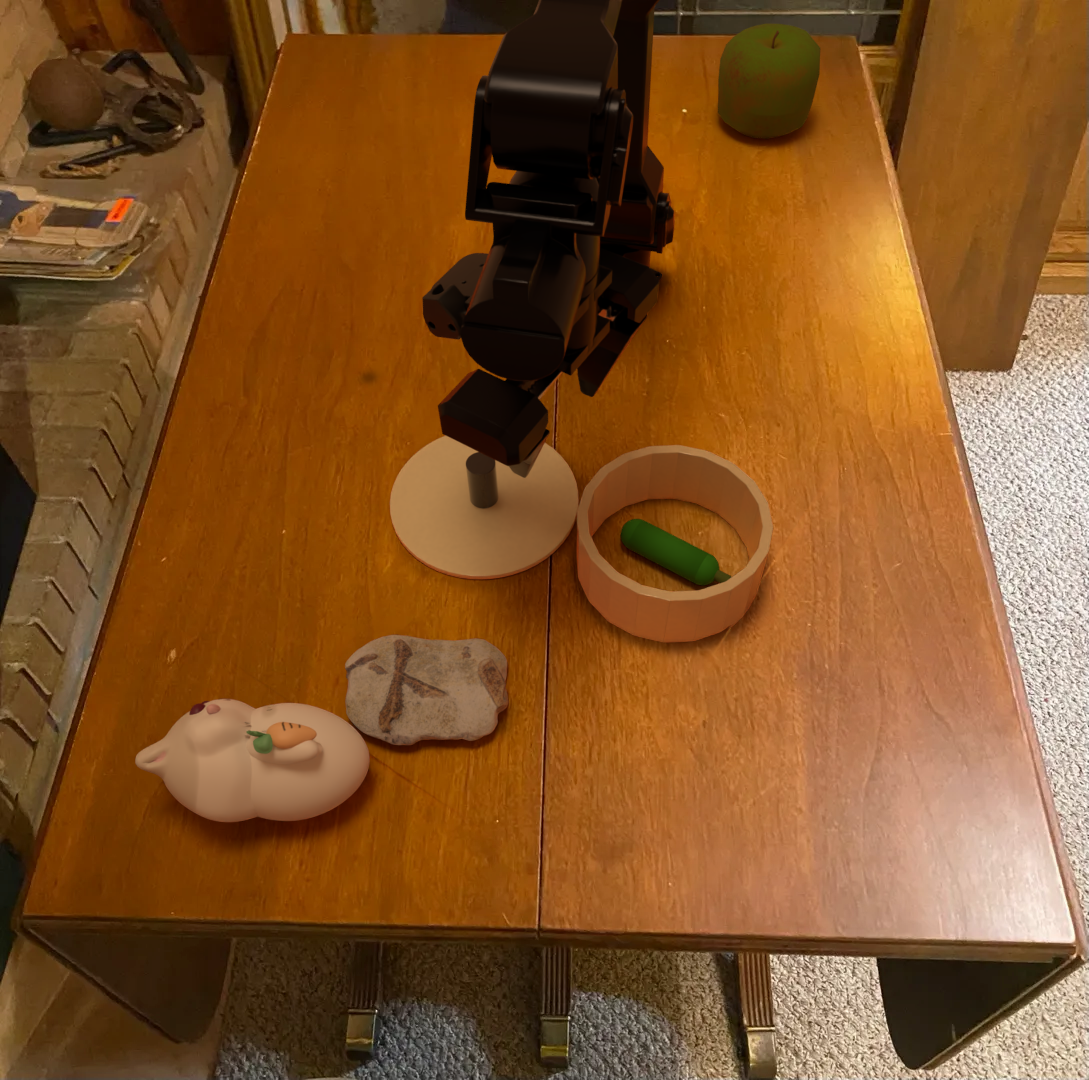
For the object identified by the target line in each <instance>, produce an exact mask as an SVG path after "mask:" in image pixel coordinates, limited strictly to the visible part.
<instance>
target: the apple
mask: <svg viewBox="0 0 1089 1080" xmlns="http://www.w3.org/2000/svg"><path fill="white" fill-rule="evenodd" d="M820 68H821V47H820V45H819V44H818V43H817V42H816V41H815V39H814V38H813V37H812V35H810V33H809V32H808V31H807V30H806V29H803V28H800V27H798V26H795V25H791V24H784V23H761V24H756V25H752V26H750V27H748V28H744V29H742V30H741V31H739V32H738V33H737V34H735V35H734V36H732V37H731V39H730V40H729V41H728V42H727V43H726V44H725V45H724V48H723V51H722V54H721V56H720V58H719V68H718V78H717V79H718V80H717V81H718V82H717V84H718V85H717V87H718V89H717V91H718V92H717V114H718V115H719V117H720V118H721V119H722V121H723V122H724V123H725V124H727V125H728V126H730V127H731V128H732V129H734V130H735V131H737V132H738V133H740V134H742V135H743V136H747V137H749V138H753V139H760V140H761V139H763V140H769V139H774V138H779V137H781V136H785V135H789V134H791V133H792V132H794V131H795V132H796V130H798V129H801V128H803V126H804V124H805V123H806V121H807V120H808V118H809V114H810V111H811V108H812V104H813V101H814V98H815V94H816V90H817V87H818V82H819V78H820V74H821V73H820V70H821V69H820Z"/></svg>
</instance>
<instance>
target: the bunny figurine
mask: <svg viewBox="0 0 1089 1080" xmlns="http://www.w3.org/2000/svg"><path fill="white" fill-rule="evenodd" d="M370 760H371V758H370V750H369V748H368V745H367V743H366V741H365V740H364V738H363V736H362V735H361V734H360V732H359V731H358V730H357V729H356V727H355V726H352V725H351V724H350V723H349V722H348V721H346V720H345V719H344V718H342V717H340V716H339V715H337V714H335V713H333V712H331V711H329V710H327V709H323V708H320V707H318V706H314V705H310V704H306V703H298V702H297V703H296V702H279V703H274V704H269V705H264V706H260V707H257V708H255V707H253V706H251V705H250V704H247V703H245V702H243V701H241V700H238V699H233V698H217V699H213V700H204V701H202V702H200V703H199V702H198V703H196V704H193V706H191V708H190V710H189V711H188V712H186V713H185V714H184V715H182V716H181V717H180V718H178V719H177V721H176V722H174V724H173V725H172V727H170V729H169V730H168V732H167V733H166V735H165V736H164V737H163V738H162V739H160V740H158V741H157V742H155V743H153V744H150V745H148V746H146V747H145V748H143V749H142V750H140V751H139V752H138V753H137V754H136V756H135V761H134V763H135V765H136V767H137V768H139V769H140V770H142V771H145V772H148V773H151V774H154V775H156V776H158V777H159V778H160V779H161V780H163V783H164V785H165V786H166V789H167V790H168V792H169V793H170V794H171V795H172V797H173V798H174V799H176V801H177V802H178V803H180V804H181V805H182V806H183V807H185V808H186V809H188V810H189V811H190V812H192V813H194V814H196V815H198V816H200V817H202V818H205V819H207V820H209V821H214V822H221V823H239V822H242V821H243V822H244V821H248V820H251V819H254V818H261V819H266V820H270V821H280V822H294V821H302V820H303V821H304V820H308V819H311V818H314V817H318V816H320V815H323V814H325V813H327V812H329V811H332V810H334V809H335V808H337V807H338V806H340V805H342V804H343V803H344V802H346V801H347V800H348V799H349V798H350V797H351V796H352V795H353V794H354V793H355V792H356V791H358V789H360V787H361V785H362V784H363V782H364V780H365V779H366V777H367V774H368V771H369V768H370Z"/></svg>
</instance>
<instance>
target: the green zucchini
mask: <svg viewBox="0 0 1089 1080" xmlns="http://www.w3.org/2000/svg"><path fill="white" fill-rule="evenodd" d="M620 541H621V542H622V544H623V546H624V547H625V548H627V549H628V550H630V551H632V552H634V553H636V554H637V555H640V556H642V557H643V558H645V559H647V560H649V561H651V562H653V563H655V564H657V565H659V566H660V567H662V568H664V569H666V570H667V571H668V570H669V571H670V572H672V573H674V574H676V575H678V576H679V577H682V578H684V579H686V580H687V581H689V582H691V583H693V584H695V585H698V586H708V585H710V584H713V583H714V582H716V583H718V584H720V583H723V582H726V581H727V580H729V579H730V578H731V577H732V575H730V574H728V573H726V572H724V571H723V570H720V564H719V561H718V559H717V558H716V557H715V556H714V555H713V554H711V553H709V552H707V551H705V550H703V549H702V548H699V547H697V546H695V545H693V544H691V543H690V542H687V541H685V540H684V539H682V538H679V537H678V536H675V535H674V534H673V533H670V532H668V531H666V530H664V529H662V528H660V527H658V526H657V525H654V524H652V523H650V522H648V521H646V520H644V519H641V518H631V519H630V520H628V521H626V522H625V523H624V524H623V526H622V527H621V530H620Z"/></svg>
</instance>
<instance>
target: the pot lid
mask: <svg viewBox="0 0 1089 1080" xmlns="http://www.w3.org/2000/svg"><path fill="white" fill-rule="evenodd" d="M389 498H390V499H389V514H390V519H391V523H392V528H393V529H394V532H395V534H396V536H397V538H398V540H399V542H400V543H401V545H402V546H403V547H404V548H405V549H406V551H407V552H408V553H409V554H410V555H412V556H413V557H414V558H415V559H416V560H417V561H418V562H420V563H422V564H423V565H425V566H426V567H428V568H430V569H432V570H435V571H436V572H439V573H442V574H443V575H447V576H450V577H456V578H460V579H468V580H490V579H500V578H505V577H510V576H513V575H516V574H519V573H522V572H525V571H527V570H529V569H531V568H533V567H535V566H537V565H539V564H540V563H542V562H543V561H545V560H546V559H548V558H549V557H551V556H552V555H553V554H554V553H555V552H556V551H558V549H559V548H560V547H561V546H562V545H563V543H564V542H565V541H566V539H567V538H568V537H569V535H570V534H571V531H572V529H573V528H574V525H575V522H576V521H577V510H578V507H579V504H580V501H579V489H578V483H577V480H576V478H575V475H574V472H573V471H572V469H571V467H570V466H569V463H568V462H566V460H565V459H564V457H563V456H562V455H561V454H560V453H559V452H558V451H557V450H556V449H555V448H553V447H552V446H551V445H550V444H548V443H546V442H545V443H544V445H543V447H542V449H541V451H540V453H539V455H538V457H537V459H536V461H535V463H534V465H533V467H532V469H531V470H530V472H529V474H528V475H527V477H526V478H523V477H521V476H519V475H517V474H515V473H514V472H513V471H512V470H511V469H510V467H509V466H506V465H504V464H502V463H500V462H498V461H496V460H494V459H492V458H490V457H488V456H486V455H484V454H482V453H480V452H478V451H476V450H474V449H472V448H470V447H468V446H466V445H464V444H462V443H460V442H458V441H456V440H454V439H452V438H450V437H448V436H446V435H443V436H441V437H439V438H437V439H435V440H433V441H431V442H429V443H428V444H426V445H424V446H423V447H421V448H420V449H419V450H418V451H416V452H415V453H414V454H413V455H412V456H411V457H410V458H409V459H408V460H407V461H406V462H405V464H404V465H403V466H402V468H401V469H400V471H399V473H398V474H397V476H396V477H395V480H394V483H393V485H392V489H391V492H390V497H389Z"/></svg>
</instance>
